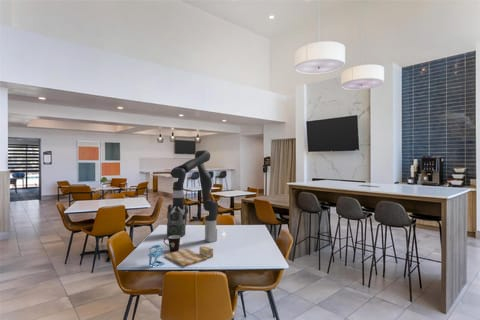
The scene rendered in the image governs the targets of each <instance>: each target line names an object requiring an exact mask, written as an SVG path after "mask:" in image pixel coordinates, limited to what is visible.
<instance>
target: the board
mask: <svg viewBox="0 0 480 320" xmlns="http://www.w3.org/2000/svg"><path fill="white" fill-rule="evenodd" d="M163 255H164V257H165V258H166V259H168V260H169V259H170V260H169V261H170V262H173V263H175V264H176V265H179V266H180V267H182V268H185V267H188V266H192V265H195V264H199V263H202V262H205V261H208V259H207V258H206V257H204V256H202V255H200V254H199V253H197V252H195V251H194V250H190V249H188V248H184V249H181V250H179V251H176V252H169V253H166V254H163Z"/></svg>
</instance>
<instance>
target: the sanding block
mask: <svg viewBox="0 0 480 320" xmlns="http://www.w3.org/2000/svg"><path fill="white" fill-rule="evenodd" d="M198 254H200V255H202V256H204V257H206V258H207V260H208V259H211V258H213V257H214V248H212V247H211V246H208V245H203V246H202V245H201V246H199V253H198Z"/></svg>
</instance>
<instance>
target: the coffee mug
mask: <svg viewBox="0 0 480 320" xmlns="http://www.w3.org/2000/svg"><path fill="white" fill-rule="evenodd" d="M165 240H167V241H168V243H166V242H165ZM180 242H181V237H180V236H178V235H173V236H168V238H167V237H165V238H164V239H163V243H164V244H165V245H166V246H167V247H169V253H173V252H176V251H180V250H179V249H180Z"/></svg>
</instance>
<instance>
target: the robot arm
mask: <svg viewBox="0 0 480 320" xmlns="http://www.w3.org/2000/svg"><path fill="white" fill-rule="evenodd" d="M210 160H211V153H210V151H209V150H197V151H195V154H194V158H192V159H189V160H187V161H185V162H184V163H183V164H181V165H179V166H175V167H174V168H171V171H170V176H171V177H172V178H173V179H177V181H174V182H173V183H172V186H173V187H172V189H173V190H172V203H169V204H168V206H167V207H168V209H167V211H168V213H170V214H171V219H174V214H173V213H174V212H175V211H181V212H182V214H183V220H185V221H186V218H187V217H186V215H187V214H188V213H189V205H188V204H186V205H185V204H184V203H185V199H184V198H185V196H184V195H185V194H184V184H185V179H186V176H187V174H188V173H190V172H191V171H192V170H194V169H195V168H196V167H197V171H198V176H199V182H200V187H201V195H202V205H203V210H204V211H206V212H208V215H206V216H205V217H204V241H205V242H206V243H215V242H217V241H218V228H217V218H218V210H219V205H218V202H217V201H216V200H212V199H211V195H210V194H211V190H212V188H213V180H212V176H211V174H210V173H209V171H208V170H207V169H206V166H205V164H204V163H206V162H209V161H210ZM172 207H173V210H172V211H171V209H172ZM183 208H185V211H184V209H183Z"/></svg>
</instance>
